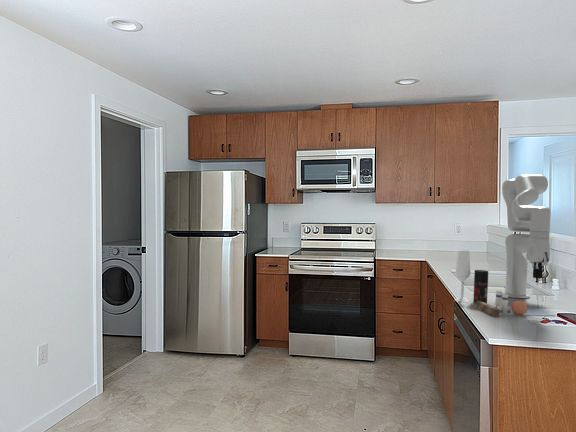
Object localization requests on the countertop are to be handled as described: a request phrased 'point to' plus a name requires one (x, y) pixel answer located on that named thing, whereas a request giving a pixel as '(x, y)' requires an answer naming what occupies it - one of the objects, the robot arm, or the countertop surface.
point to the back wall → (488, 308)
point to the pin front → (501, 307)
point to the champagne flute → (463, 271)
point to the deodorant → (480, 286)
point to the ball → (519, 307)
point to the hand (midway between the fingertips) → (537, 277)
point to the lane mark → (530, 313)
